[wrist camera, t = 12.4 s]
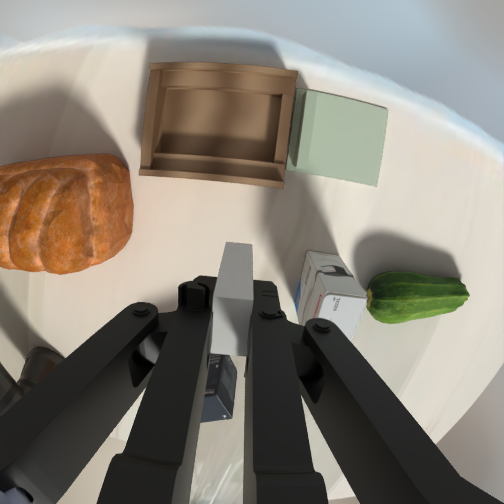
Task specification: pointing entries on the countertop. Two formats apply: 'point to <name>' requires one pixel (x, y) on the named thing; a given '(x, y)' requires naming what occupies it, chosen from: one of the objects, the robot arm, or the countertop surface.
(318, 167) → the lid
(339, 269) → the ink box
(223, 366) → the box
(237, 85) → the pencil box
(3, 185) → the bread
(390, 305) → the vegetable
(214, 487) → the countertop surface
